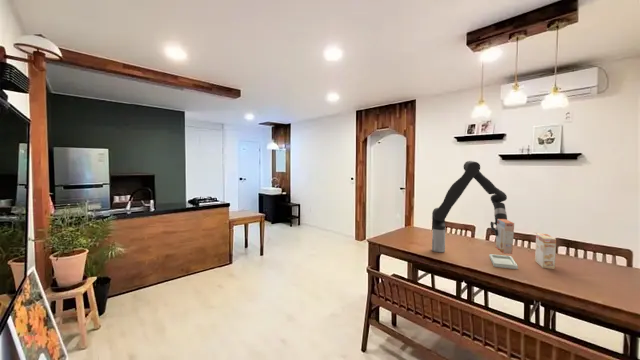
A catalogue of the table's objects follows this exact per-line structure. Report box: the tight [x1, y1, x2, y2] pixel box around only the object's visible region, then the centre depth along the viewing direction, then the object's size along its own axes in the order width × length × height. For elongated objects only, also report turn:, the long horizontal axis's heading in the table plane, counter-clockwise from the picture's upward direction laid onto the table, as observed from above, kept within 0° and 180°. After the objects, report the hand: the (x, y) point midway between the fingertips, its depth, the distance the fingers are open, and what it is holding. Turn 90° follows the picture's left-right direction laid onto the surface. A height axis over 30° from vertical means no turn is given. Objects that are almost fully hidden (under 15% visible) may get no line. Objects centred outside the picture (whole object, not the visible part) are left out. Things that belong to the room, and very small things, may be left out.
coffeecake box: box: [534, 233, 557, 270], centre depth 199 cm, size 15×7×20 cm, turn 160°
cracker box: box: [495, 219, 515, 255], centre depth 202 cm, size 14×6×21 cm, turn 167°
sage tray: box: [488, 253, 519, 270], centre depth 203 cm, size 13×21×2 cm, turn 157°
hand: (503, 235), depth 205 cm, fingers closed on cracker box, 6 cm apart
